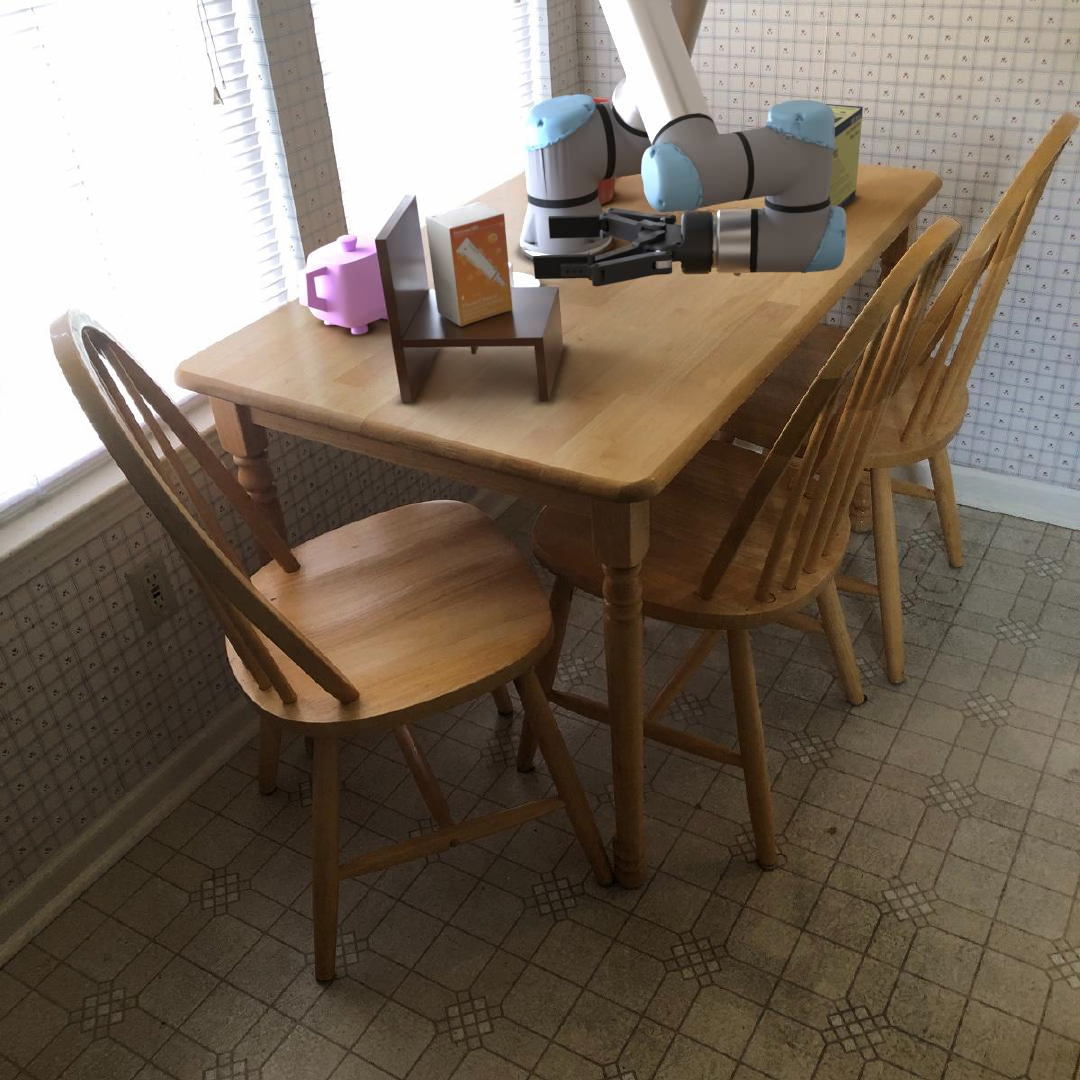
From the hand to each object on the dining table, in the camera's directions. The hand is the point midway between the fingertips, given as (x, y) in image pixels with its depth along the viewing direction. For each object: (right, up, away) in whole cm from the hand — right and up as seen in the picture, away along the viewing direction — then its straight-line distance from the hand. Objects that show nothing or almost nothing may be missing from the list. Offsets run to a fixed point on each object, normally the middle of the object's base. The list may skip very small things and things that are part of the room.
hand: (541, 246), depth 140 cm
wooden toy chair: (-7, -14, +11) cm, 20 cm away
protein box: (+47, +21, +54) cm, 75 cm away
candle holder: (-6, +2, +34) cm, 35 cm away
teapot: (-27, -3, +30) cm, 41 cm away
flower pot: (+8, +27, +68) cm, 73 cm away
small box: (-9, -7, +6) cm, 13 cm away
